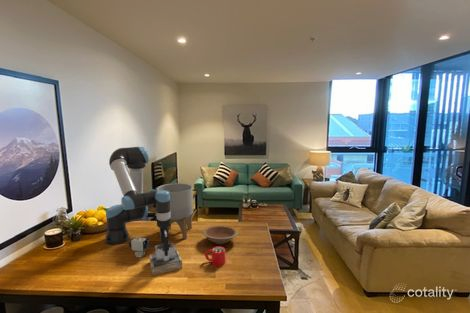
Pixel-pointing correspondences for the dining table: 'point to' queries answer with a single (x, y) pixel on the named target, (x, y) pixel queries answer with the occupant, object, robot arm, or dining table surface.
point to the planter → (180, 205)
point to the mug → (216, 256)
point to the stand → (165, 264)
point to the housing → (159, 252)
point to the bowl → (220, 233)
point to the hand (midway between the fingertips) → (165, 257)
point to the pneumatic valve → (139, 245)
